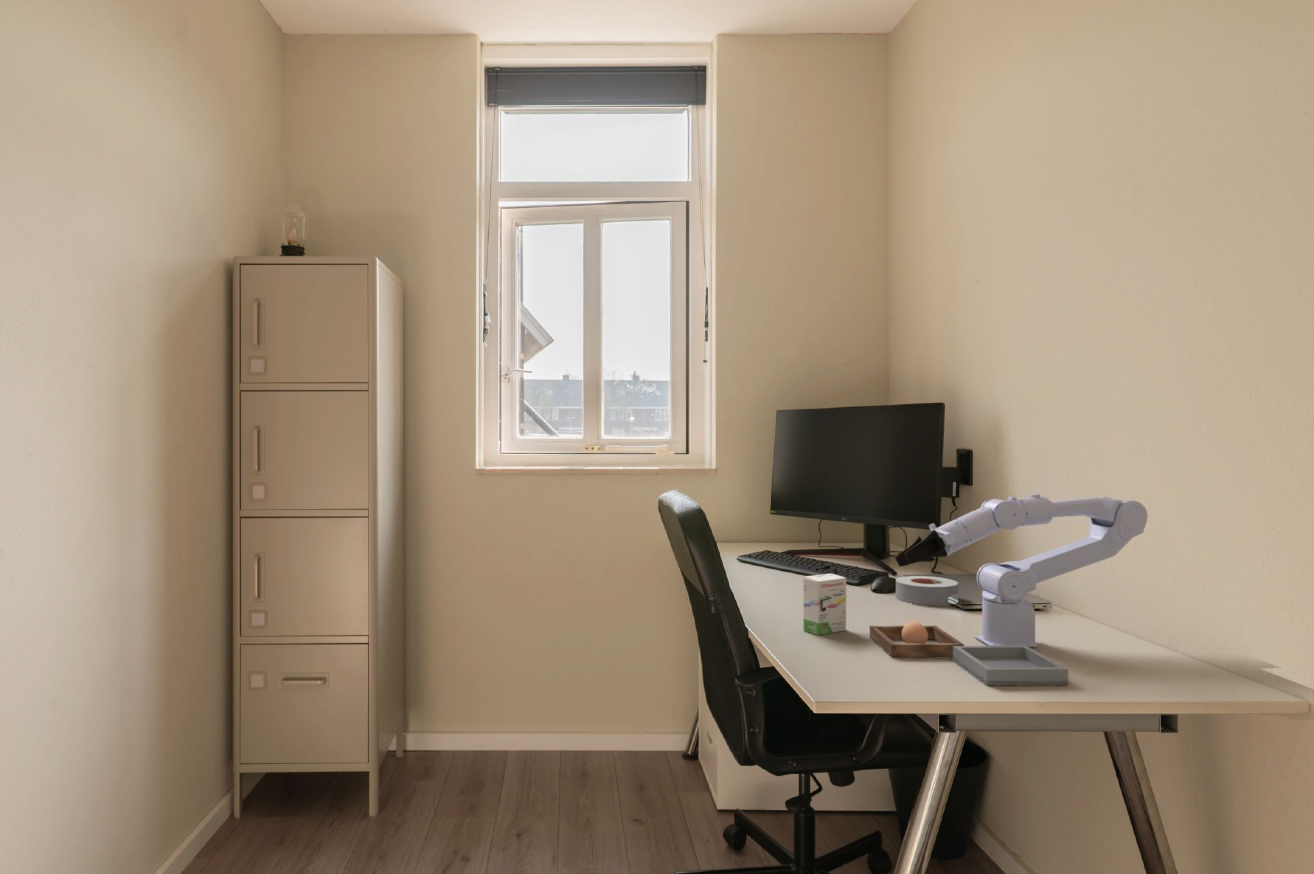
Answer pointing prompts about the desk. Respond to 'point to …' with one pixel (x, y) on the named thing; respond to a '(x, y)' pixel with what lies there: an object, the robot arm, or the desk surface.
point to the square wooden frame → (940, 649)
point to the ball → (914, 633)
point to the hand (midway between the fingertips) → (902, 560)
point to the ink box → (824, 603)
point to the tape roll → (925, 590)
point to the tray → (1009, 665)
